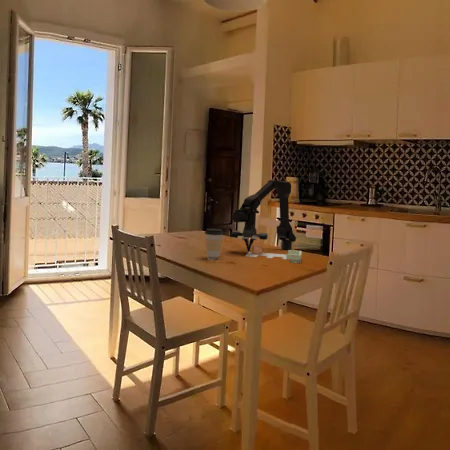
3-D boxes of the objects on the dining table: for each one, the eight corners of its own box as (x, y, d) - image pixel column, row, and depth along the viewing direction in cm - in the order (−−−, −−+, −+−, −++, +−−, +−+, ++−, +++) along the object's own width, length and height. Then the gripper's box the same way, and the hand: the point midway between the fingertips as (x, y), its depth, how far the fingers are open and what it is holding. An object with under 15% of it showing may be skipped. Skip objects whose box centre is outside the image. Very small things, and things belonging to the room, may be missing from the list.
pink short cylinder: (252, 252, 247) (252, 245, 246) (261, 253, 246) (262, 245, 246) (251, 254, 242) (251, 246, 242) (260, 254, 241) (261, 247, 241)
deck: (248, 254, 249) (248, 247, 249) (301, 258, 244) (301, 251, 243) (244, 258, 236) (245, 251, 236) (300, 263, 231) (300, 255, 231)
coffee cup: (206, 261, 227) (207, 230, 225) (202, 257, 236) (203, 228, 234) (224, 260, 230) (226, 230, 228) (220, 257, 239) (221, 228, 237)
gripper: (229, 222, 237) (228, 252, 239) (266, 224, 233) (264, 255, 235) (233, 220, 248) (232, 248, 250) (268, 222, 244) (266, 251, 246)
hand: (248, 251), depth 245 cm, fingers closed
